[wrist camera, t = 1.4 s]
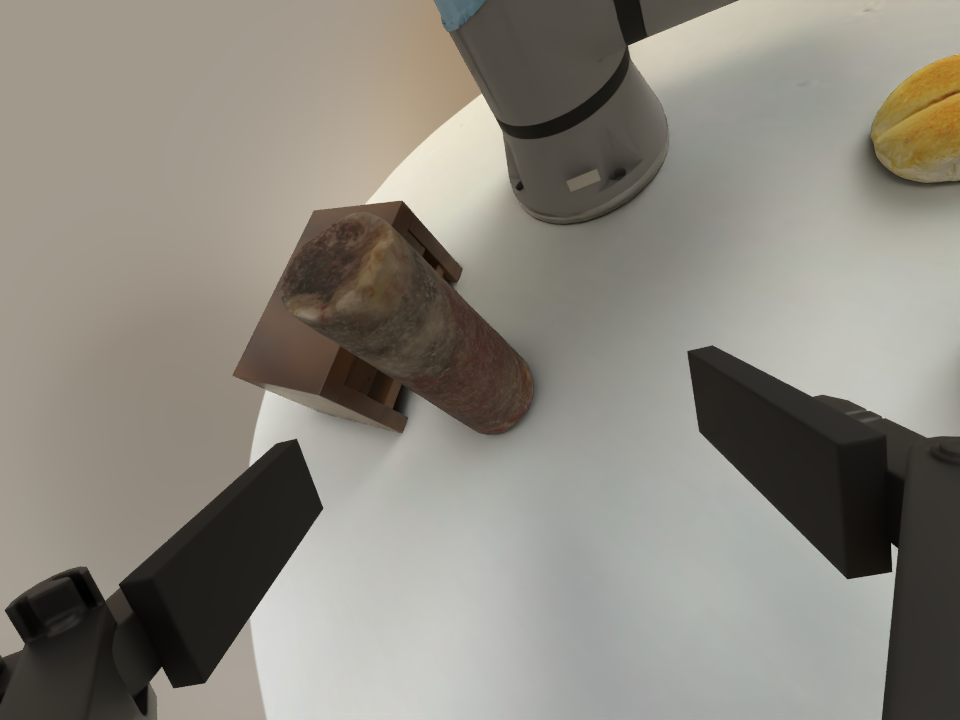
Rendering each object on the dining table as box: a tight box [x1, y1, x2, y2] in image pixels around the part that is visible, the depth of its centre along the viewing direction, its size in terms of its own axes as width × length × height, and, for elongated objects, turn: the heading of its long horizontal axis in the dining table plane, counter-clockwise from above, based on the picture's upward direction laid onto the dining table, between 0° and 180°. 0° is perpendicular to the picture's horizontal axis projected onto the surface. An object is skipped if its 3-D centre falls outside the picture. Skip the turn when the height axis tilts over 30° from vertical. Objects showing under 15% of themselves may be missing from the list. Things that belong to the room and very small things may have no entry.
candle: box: [279, 212, 533, 434], centre depth 31 cm, size 8×7×20 cm
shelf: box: [233, 201, 462, 433], centre depth 44 cm, size 18×12×10 cm, turn 159°
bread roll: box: [871, 54, 960, 183], centre depth 29 cm, size 8×9×4 cm
